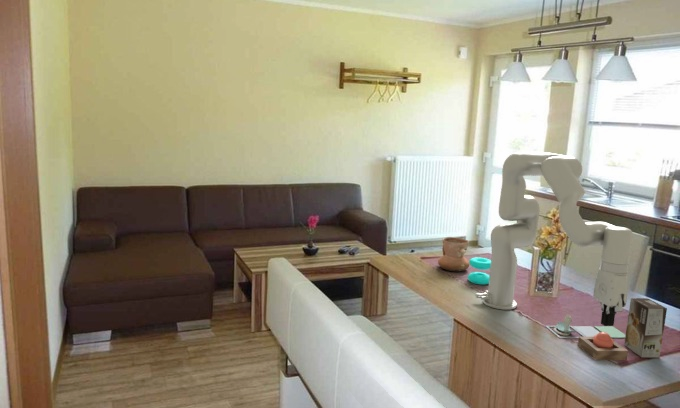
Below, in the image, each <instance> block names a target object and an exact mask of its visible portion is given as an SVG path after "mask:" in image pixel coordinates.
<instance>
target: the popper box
mask: <svg viewBox="0 0 680 408" xmlns="http://www.w3.org/2000/svg"><path fill="white" fill-rule="evenodd" d="M578 337H579V339H577V340H578V341H577V346H578V347H579V348H580V349H581V350H582V351H584V352H585V353H586V354H587V355H589V356H590V357H591V358H592V359H593V360H595V361H628V356H629V355H628V354H629V350H628V349H627V348H625V347H623V346H622V345H621V344H620V343H618V342H617V341H615V340H614V342H613V348H598V347H597V346H595V345H594V344H593V338H594V337H583V336H578Z"/></svg>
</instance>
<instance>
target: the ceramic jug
mask: <svg viewBox="0 0 680 408" xmlns="http://www.w3.org/2000/svg"><path fill="white" fill-rule="evenodd" d="M469 244H470V241H469V240H467V239H464V238H460V237H452V236H447V237H443V238H442V256H440V257H439V258H438V260H437V264H438V265H439V266H440V267H441V268H442V269H444V270H447V271H450V272H462V271H465V270H467V269H468V268H469V266H471V265H470V263H469V261H470V260H468V259H467V258H466V257H465V253H467V249H468V247H469Z"/></svg>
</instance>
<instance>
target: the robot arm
mask: <svg viewBox="0 0 680 408" xmlns="http://www.w3.org/2000/svg"><path fill="white" fill-rule="evenodd" d="M501 173H502V177H501V178H502V182H501V188H500V189H501V191H500V198H499V203H498V215H499V217H500V219H502V220H503V221H507V222H511V223H500V224H497V225H496V226H494V228H492V230H491V233H490V246H491V256H490V258H491V259H490V260H491V267H490V269H489V276H490V277H489V284H488V288H487V289H485V292H483V293H480V292H475V294H474V296H475V299H480V300H481V301H482V302H483V304H484V305H486V306H487V307H489V308H492V309H496V310H502V311H505V310H507V311H509V310H514V309H516V308H517V307H518V303H517V302H516V300H515V299H514V296H515V286H516V276H517V270H518V269H517V268H518V267H517V266H518V259H517V255H516V251H515V249H522V248H527V247H530V246H532V245H533V244H534V242H535V240H536V236H537V231H538V225H539V224H538V223H539V218H540V212H541V211H540V204H539V202H538V200H537V199H536V198H535V197H534V196H533V195H529V194H526V190H527V184H526V180H525V177H527V176H528V177H529V176H531V177H532V176H535V177H536V176H541V177H543V178H544V180H545V182H546V183H547V185H548V186H549V188H550V189H551V192H553V194H554V196H555V197H556V199H557V201H558V203H559V207H558V217H559V223H560V225H561V227H562V229H563V231H564V232H565V234H566V236H567V237H568V239H569V240H570V242H572V243H573V245H575V246H578V247H581V248H588V247H599V246H600V247H601V246H602V249H601V258H600V266H599V268H598V270H597V273H596V278H595V281H594V287H593V294H592V295H593V298H594V299H595V300H597V302H599V303H600V310H601V318H600V324H601V325H602V326H613V327H614V325H615V317H616V315H617V313H623V312H624V311H623V308H625V307H626V305H627V301H628V288H629V283H628V282H629V280H628V279H629V277H628V276H629V275H628V273H629V266H630V259H631V250H632V243H633V230H631V229H630V228H628V227H624V226H618V225H617V226H616V225H613V224H611V223H608V222H606V221H587V222H586V221H585V220H584V219H583V217H582V216H581V215H580V212H579V211H578V207H577V203H578V202H579V201H580V200H581V199H583V197H584V195H585V193H586V192H585V191H586V190H585V189H584V187H583V186H582V184H581V183H580V181H579V180H578V179H579V178H580V177H581V175H582V173H583V166H582V163H581V162H580V160H579V159H578V158H577V157H575V156H572V155H565V154H558V153H552V152H545V151H544V152H543V151H540V152H539V151H522V152H521V151H520V152H514V153H512V154H511V155H509V156H508V157H506V159H505V160H504V162H503V165H502V171H501ZM513 222H514V223H513Z"/></svg>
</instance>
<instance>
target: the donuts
mask: <svg viewBox="0 0 680 408" xmlns="http://www.w3.org/2000/svg"><path fill="white" fill-rule="evenodd" d="M468 261H469V264H470V265H469V266H471V268H474V269H476V270H482V272H481V271H474V272H470V273H469V274H468V276H467V279H468V281H469V283H470V282H471V284H476V285H482V286H483V285H489V277H490V274H487V273H485V272H483V271H484V270H490V267H491V259H490V258H489V259H488V258H487V257H480V256H479V257H472V258H470V259H469V260H468Z"/></svg>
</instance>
